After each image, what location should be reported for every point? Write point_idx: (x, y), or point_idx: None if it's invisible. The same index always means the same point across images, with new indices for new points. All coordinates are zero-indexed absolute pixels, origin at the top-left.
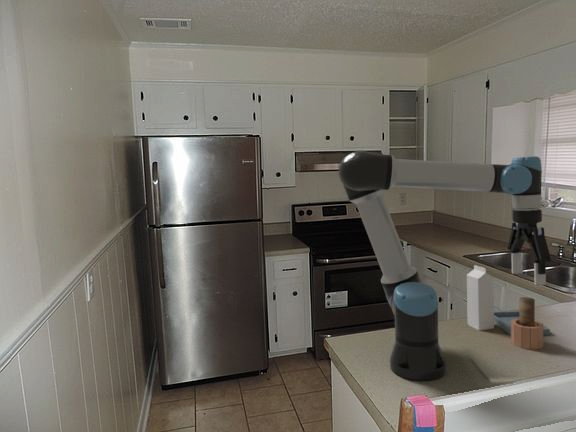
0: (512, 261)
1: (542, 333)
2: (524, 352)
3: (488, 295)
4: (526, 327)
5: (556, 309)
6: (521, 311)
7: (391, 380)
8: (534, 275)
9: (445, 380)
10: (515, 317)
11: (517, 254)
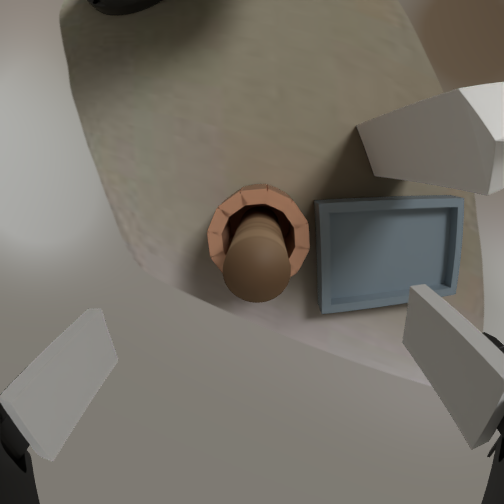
0: (464, 333)
1: None
2: (220, 202)
3: (426, 157)
4: (214, 222)
5: None
6: (245, 228)
7: None
8: (68, 340)
9: (90, 19)
10: (438, 267)
11: (482, 416)
